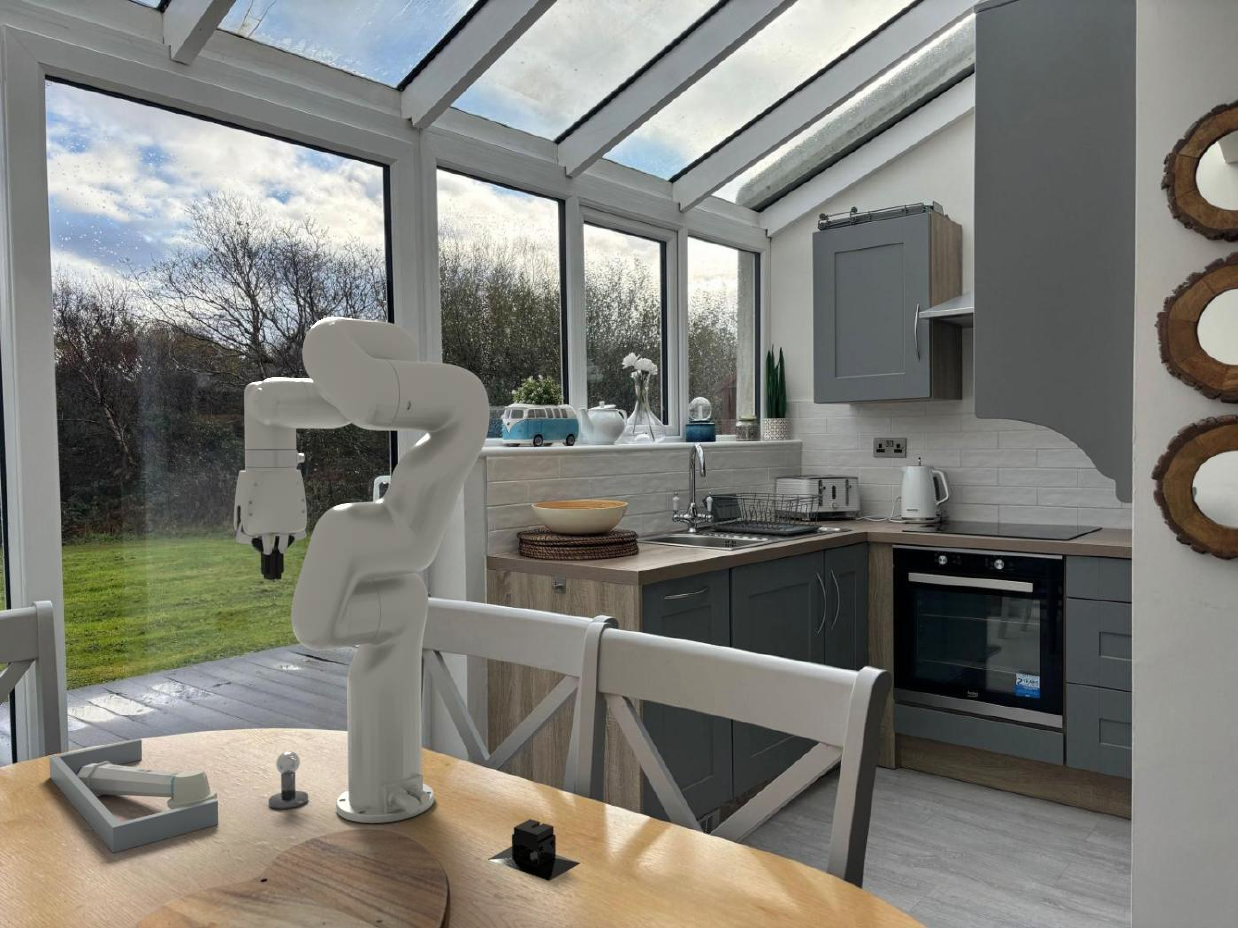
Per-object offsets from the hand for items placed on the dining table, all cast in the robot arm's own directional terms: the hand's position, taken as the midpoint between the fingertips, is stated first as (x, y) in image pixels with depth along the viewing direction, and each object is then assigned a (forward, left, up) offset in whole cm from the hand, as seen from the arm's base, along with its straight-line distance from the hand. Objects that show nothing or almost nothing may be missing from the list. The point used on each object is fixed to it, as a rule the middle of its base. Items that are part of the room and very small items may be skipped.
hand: (272, 578), depth 144 cm
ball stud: (-22, +7, -27) cm, 36 cm away
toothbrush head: (-10, +21, -28) cm, 36 cm away
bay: (-6, +23, -27) cm, 36 cm away
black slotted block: (-59, -6, -28) cm, 65 cm away
